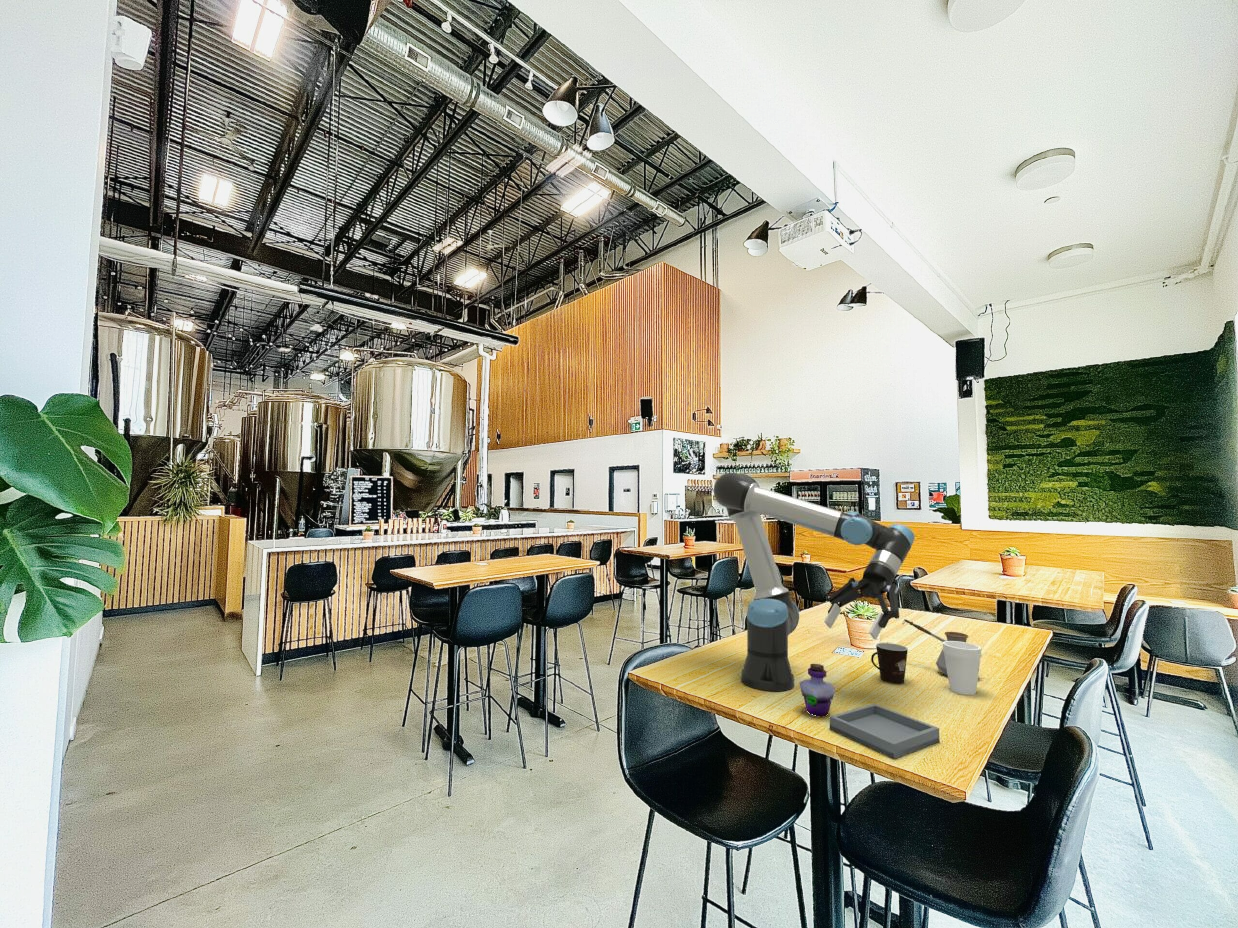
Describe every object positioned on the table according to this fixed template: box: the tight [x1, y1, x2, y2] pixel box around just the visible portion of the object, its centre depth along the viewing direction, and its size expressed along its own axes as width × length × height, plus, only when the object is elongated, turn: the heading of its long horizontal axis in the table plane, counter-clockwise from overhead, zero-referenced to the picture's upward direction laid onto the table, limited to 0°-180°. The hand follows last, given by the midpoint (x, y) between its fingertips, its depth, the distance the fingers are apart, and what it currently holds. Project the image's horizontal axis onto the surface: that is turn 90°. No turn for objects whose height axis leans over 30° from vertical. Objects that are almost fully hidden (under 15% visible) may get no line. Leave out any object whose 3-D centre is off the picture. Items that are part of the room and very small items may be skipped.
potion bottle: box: [799, 663, 836, 718], centre depth 133 cm, size 9×9×12 cm
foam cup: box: [942, 640, 982, 696], centre depth 150 cm, size 10×9×13 cm
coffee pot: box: [901, 618, 970, 677], centre depth 168 cm, size 21×12×15 cm, turn 45°
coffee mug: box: [870, 642, 909, 685], centre depth 159 cm, size 12×9×10 cm
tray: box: [828, 703, 941, 760], centre depth 120 cm, size 16×17×3 cm
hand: (849, 630), depth 139 cm, fingers open, 13 cm apart
